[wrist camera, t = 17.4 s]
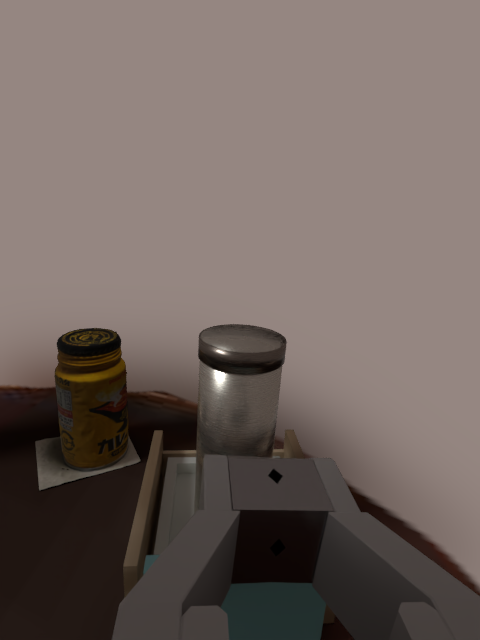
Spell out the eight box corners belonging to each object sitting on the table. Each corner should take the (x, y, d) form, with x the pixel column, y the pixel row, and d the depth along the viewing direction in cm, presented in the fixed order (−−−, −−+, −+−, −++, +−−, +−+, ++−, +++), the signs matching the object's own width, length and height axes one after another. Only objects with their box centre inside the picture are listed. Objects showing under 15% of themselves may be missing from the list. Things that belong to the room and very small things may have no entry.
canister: (189, 559, 23) (196, 351, 19) (194, 497, 28) (200, 322, 24) (271, 558, 24) (294, 355, 20) (261, 498, 29) (278, 326, 25)
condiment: (141, 462, 35) (137, 343, 31) (39, 492, 31) (23, 357, 27) (122, 424, 41) (118, 320, 37) (35, 444, 37) (21, 329, 33)
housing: (126, 635, 21) (123, 566, 19) (155, 479, 33) (154, 430, 31) (333, 622, 22) (344, 557, 20) (288, 477, 34) (293, 429, 32)
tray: (145, 652, 20) (142, 573, 18) (168, 483, 32) (167, 427, 30) (320, 640, 21) (332, 564, 19) (277, 480, 33) (282, 426, 31)
